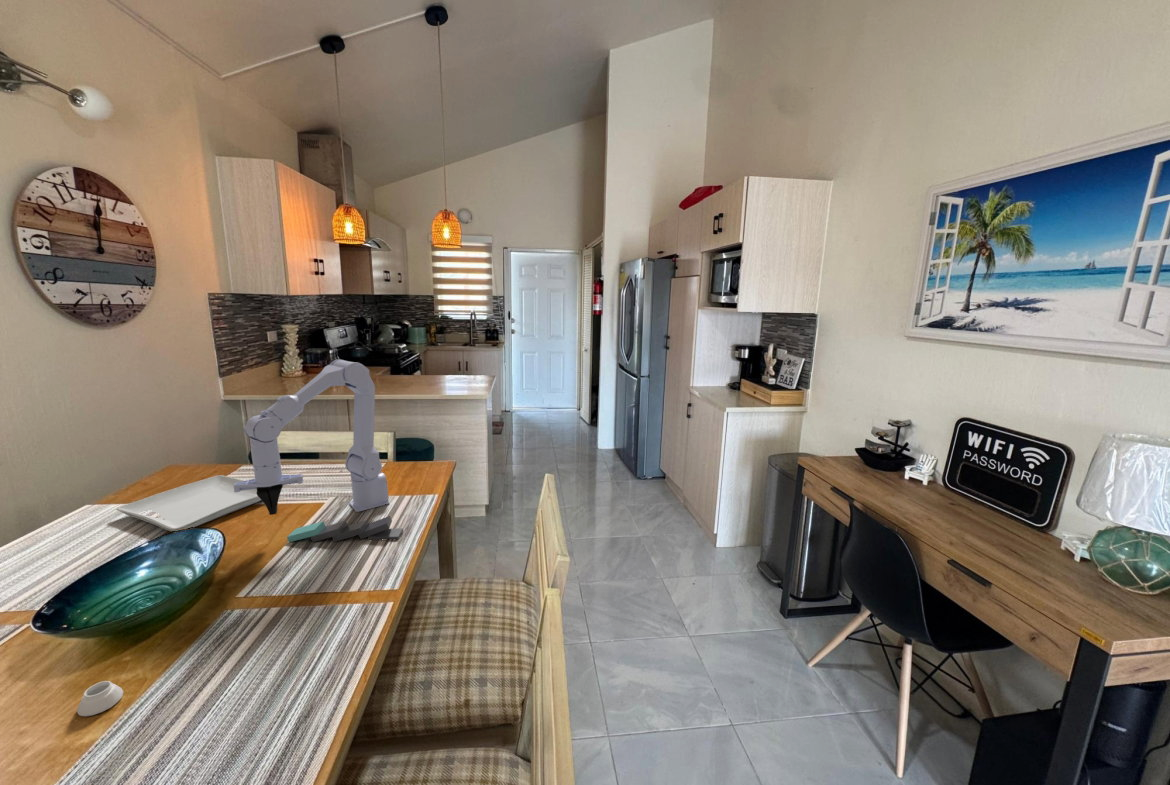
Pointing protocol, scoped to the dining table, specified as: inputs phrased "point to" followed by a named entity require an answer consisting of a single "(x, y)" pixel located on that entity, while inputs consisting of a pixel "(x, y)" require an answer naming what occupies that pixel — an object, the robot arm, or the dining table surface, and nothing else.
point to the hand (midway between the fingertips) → (273, 512)
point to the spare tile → (306, 531)
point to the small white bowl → (99, 698)
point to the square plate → (192, 503)
